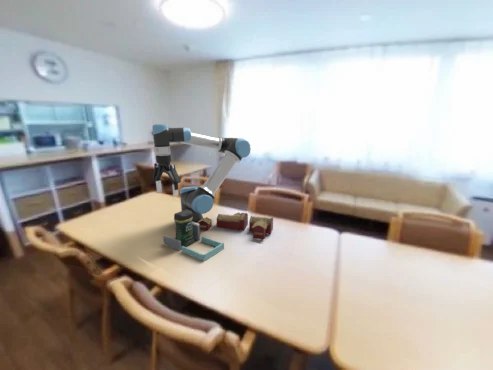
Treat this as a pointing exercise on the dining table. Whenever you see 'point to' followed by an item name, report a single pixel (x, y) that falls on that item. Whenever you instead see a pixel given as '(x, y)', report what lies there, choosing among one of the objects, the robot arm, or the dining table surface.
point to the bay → (177, 244)
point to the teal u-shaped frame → (203, 257)
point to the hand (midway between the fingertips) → (167, 193)
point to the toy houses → (241, 224)
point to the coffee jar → (184, 227)
